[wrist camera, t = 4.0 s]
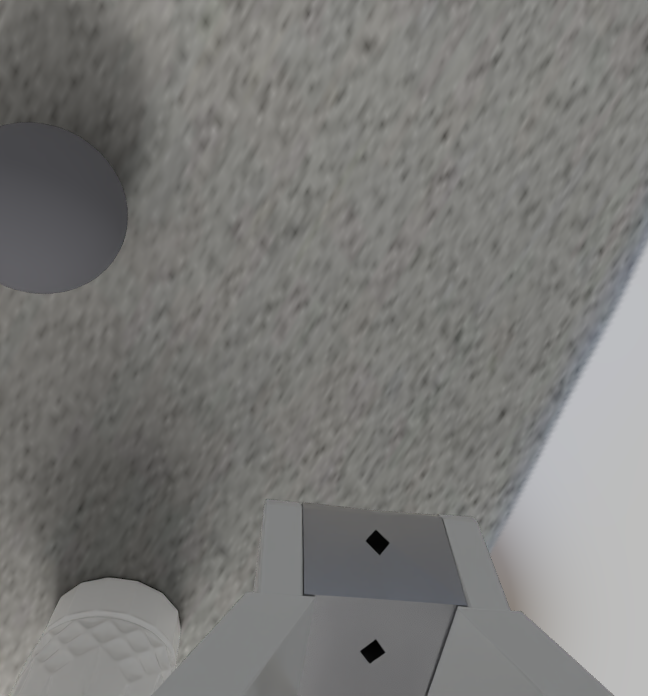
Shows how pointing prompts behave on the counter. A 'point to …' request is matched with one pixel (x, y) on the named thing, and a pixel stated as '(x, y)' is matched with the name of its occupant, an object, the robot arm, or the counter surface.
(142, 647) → the white cup
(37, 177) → the dark gray ball
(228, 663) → the robot arm
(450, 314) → the counter surface
